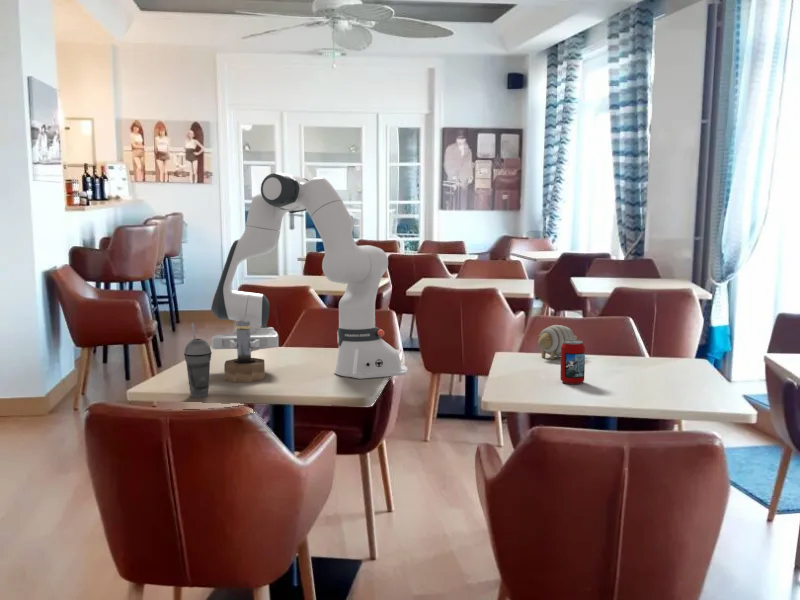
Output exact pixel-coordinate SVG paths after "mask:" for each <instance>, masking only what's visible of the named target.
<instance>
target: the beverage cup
mask: <svg viewBox="0 0 800 600" xmlns="http://www.w3.org/2000/svg"><path fill="white" fill-rule="evenodd" d="M190 324H191V329H192V330H191V331H192V335H193V339H191V340H190V341H189V342H188V343H187V344H186V346H185V347H184V352H183V356H184V360H185V364H186V371H187V378H188V386H189V392H190V396H191V397H192V398H205V397H207V396H209V389H210V387H209V385H210V367H211V366H210V365H211V360H212V359H211V358H212V354H213V353H212V347H211V346H210V344H209V343H208V342H207V341H206V340H204V339H202V338H196V332H195V326H194V322H191V323H190Z"/></svg>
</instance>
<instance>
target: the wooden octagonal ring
mask: <svg viewBox="0 0 800 600" xmlns="http://www.w3.org/2000/svg"><path fill="white" fill-rule="evenodd" d="M265 365H266V364H265V359H264V358H263V359H262V358H259V357H258V358H257V357H251V363H249V364H238V358H234V359H228V360H225V362H224V381H225V382H230V383H231V382H232V383H254V382H258V381H262V380H265V377H266V375H265V374H266V371H265V370H266V369H265V367H266V366H265Z"/></svg>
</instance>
